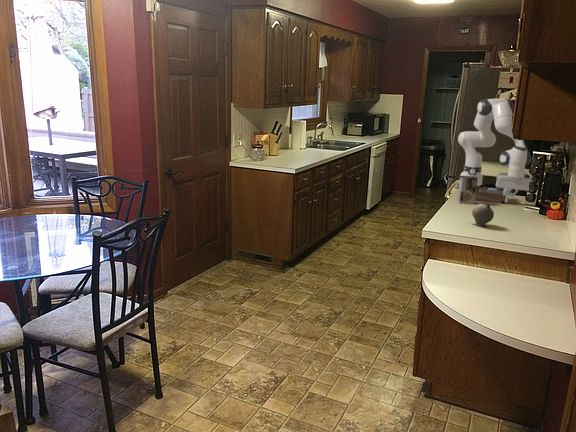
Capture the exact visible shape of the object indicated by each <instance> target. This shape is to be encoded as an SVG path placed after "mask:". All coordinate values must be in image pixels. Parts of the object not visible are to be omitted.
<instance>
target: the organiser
mask: <svg viewBox="0 0 576 432" xmlns="http://www.w3.org/2000/svg"><path fill="white" fill-rule="evenodd" d="M488 188H489V187H486V186H484V187H476V194H475V202H483V203H492V204H493V203H494V204H500V203H501V204H502V202H503V201H502V197H503V194H500V193H490V192H480V191H479V189H486V190H488ZM493 188H494V189H497V191H502V188H497V187H496V188H495V187H493Z"/></svg>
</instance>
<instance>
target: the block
mask: <svg viewBox="0 0 576 432" xmlns="http://www.w3.org/2000/svg"><path fill="white" fill-rule="evenodd" d="M487 188H488V192H490V193H497V189H498V188H497V189H494V188H495V187H487Z"/></svg>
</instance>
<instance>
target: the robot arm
mask: <svg viewBox="0 0 576 432" xmlns="http://www.w3.org/2000/svg"><path fill="white" fill-rule="evenodd" d="M513 109H514V102H513V100H512V99H510V98H502V97H501V98H496V97H495V98H488V99H487V98H484V99H480V100H479V101H478V103H477V106H476V110H477V113H476V116H475V117H474V121H473V126H474V127H475V128H476V130H477V131H473V130H472V131H471V130H467V131H462V132H460V133H459V134H458V138H457V142H458V144H459V145H460V146H461V147H462V149H463V150H464V152H465V161H464V162H465V163H464V166H463V171H462V172H461V173H460V175H459V177H460V176H475V177H477V178H478V179H477V186H480V185H482V184H483V177H484V175H483V174H482V170H483V169H482V168H483V167H482V162H483V155H482V154H481V152H478V151H477V150H476V148H491V147H493V146H494V145H495V143H496V141H497V137H496V134H494V133H493V131H492V130H491V127H492V123H494V127H495V130H496V131H497V132H498V133H500V134H502V135H505V136H507V137H509V138H511V139H512V141H513V142H514V144H515V146H513V147H512V148H511V149H508V150H504V151H502V152H501V153H500V155H499V158H498V159H499V163H500V165H502V166H503V167H508V169H507V170H508V171H507V172H500V173H497V174H496V181H495V187H496V188H497V189H504V188H505V189H508V190H509V192H510V194H509V197H515V196H516V194H517V193H518V192H519V191H528V192H530V191H529V182H531V181H533V180H531V179H532V178H533V175H532V174H530V173H528V172H526V171H525V170H526V169H525V168H526V167H527V166H529V164H530V163H531V161H532V155H531V153H530V151H529V149H528V147H527V144H526V140H525V139H524V140H518V139H514V138H513V133H512V126H511V125H512V116H513V117H514V115H513ZM493 121H494V122H493ZM512 190H514V192H511V191H512Z"/></svg>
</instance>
